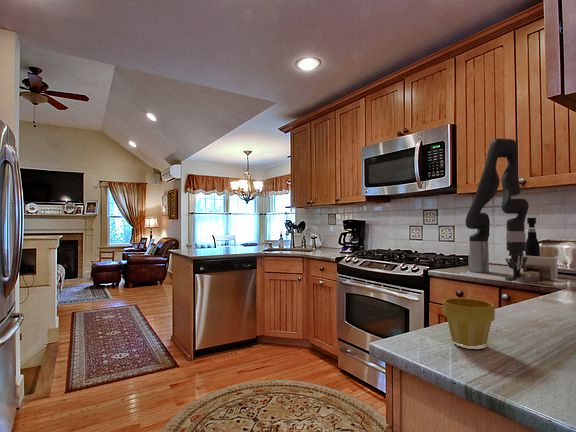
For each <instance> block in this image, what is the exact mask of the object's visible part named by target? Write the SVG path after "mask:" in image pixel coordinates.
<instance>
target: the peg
mask: <svg viewBox="0 0 576 432" xmlns="http://www.w3.org/2000/svg"><path fill="white" fill-rule="evenodd" d="M530 277H540V272H536V271H528V272H523V271H520V278H516V279H515V280H516V281H518V282H520V279H522V278H530ZM539 281H542V280H541V279H540V280H539Z"/></svg>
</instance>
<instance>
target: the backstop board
mask: <svg viewBox="0 0 576 432" xmlns="http://www.w3.org/2000/svg"><path fill="white" fill-rule="evenodd" d="M524 257H527V261H526V263H525V264H537V265H548V266H550V274H551V279H554V280H558V279H559V274H558V272H559V271H558V258H557V257H548V256H547V257H545V256H540V257H537V256H525V255H524Z"/></svg>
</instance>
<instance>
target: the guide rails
mask: <svg viewBox="0 0 576 432" xmlns="http://www.w3.org/2000/svg"><path fill="white" fill-rule="evenodd" d="M504 280H505V281H514V280H517V279H516V278H514V275H507V276H504ZM538 281H541V280H540V277H530V278H522V279H520V281H519V283H522V284H525V283H530V282H538Z"/></svg>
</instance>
